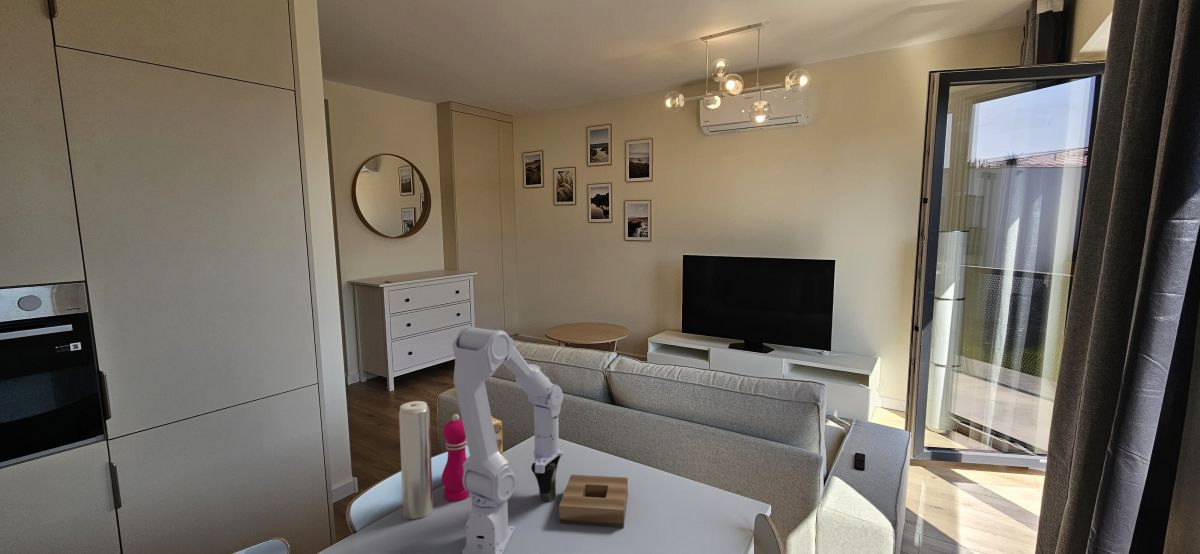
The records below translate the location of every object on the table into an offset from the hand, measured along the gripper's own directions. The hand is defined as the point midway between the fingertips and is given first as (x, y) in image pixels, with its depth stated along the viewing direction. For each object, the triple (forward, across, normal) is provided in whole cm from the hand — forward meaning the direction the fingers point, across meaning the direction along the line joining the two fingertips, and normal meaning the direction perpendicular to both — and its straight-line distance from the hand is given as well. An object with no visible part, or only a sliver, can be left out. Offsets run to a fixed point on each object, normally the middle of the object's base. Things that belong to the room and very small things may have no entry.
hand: (547, 487), depth 114 cm
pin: (+2, 0, 0) cm, 2 cm away
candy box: (+3, +9, +18) cm, 20 cm away
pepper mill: (+3, -1, +22) cm, 22 cm away
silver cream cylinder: (+3, -9, +28) cm, 30 cm away
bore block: (+2, -3, -12) cm, 13 cm away
